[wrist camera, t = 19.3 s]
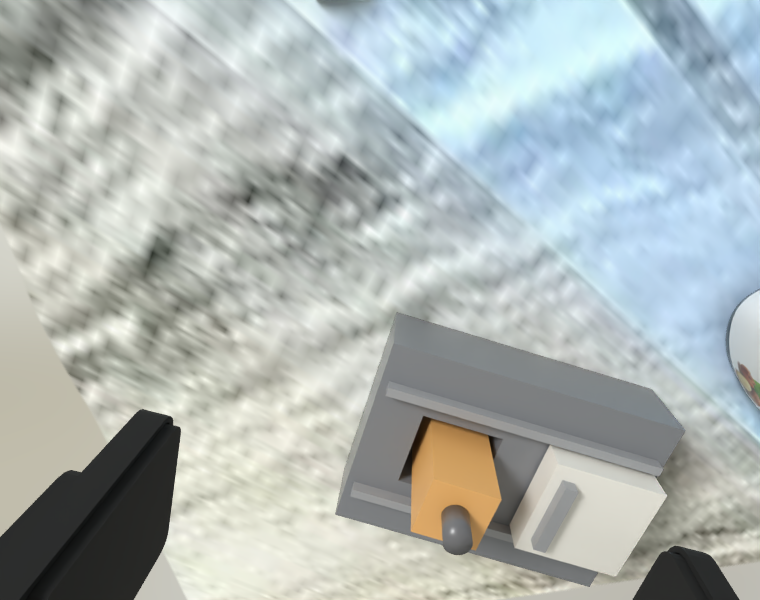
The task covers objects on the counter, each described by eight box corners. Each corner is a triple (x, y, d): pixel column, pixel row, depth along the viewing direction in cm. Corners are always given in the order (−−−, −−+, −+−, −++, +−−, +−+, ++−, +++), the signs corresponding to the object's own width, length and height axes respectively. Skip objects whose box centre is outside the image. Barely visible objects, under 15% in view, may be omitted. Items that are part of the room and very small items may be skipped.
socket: (652, 389, 37) (691, 438, 32) (570, 533, 42) (592, 596, 37) (396, 312, 36) (392, 348, 31) (344, 467, 41) (333, 522, 36)
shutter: (653, 474, 33) (673, 505, 31) (605, 552, 36) (620, 587, 33) (550, 443, 33) (561, 472, 31) (509, 524, 36) (516, 557, 33)
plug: (481, 403, 38) (507, 526, 27) (462, 446, 40) (479, 579, 29) (429, 387, 38) (434, 504, 27) (412, 430, 40) (410, 559, 29)
